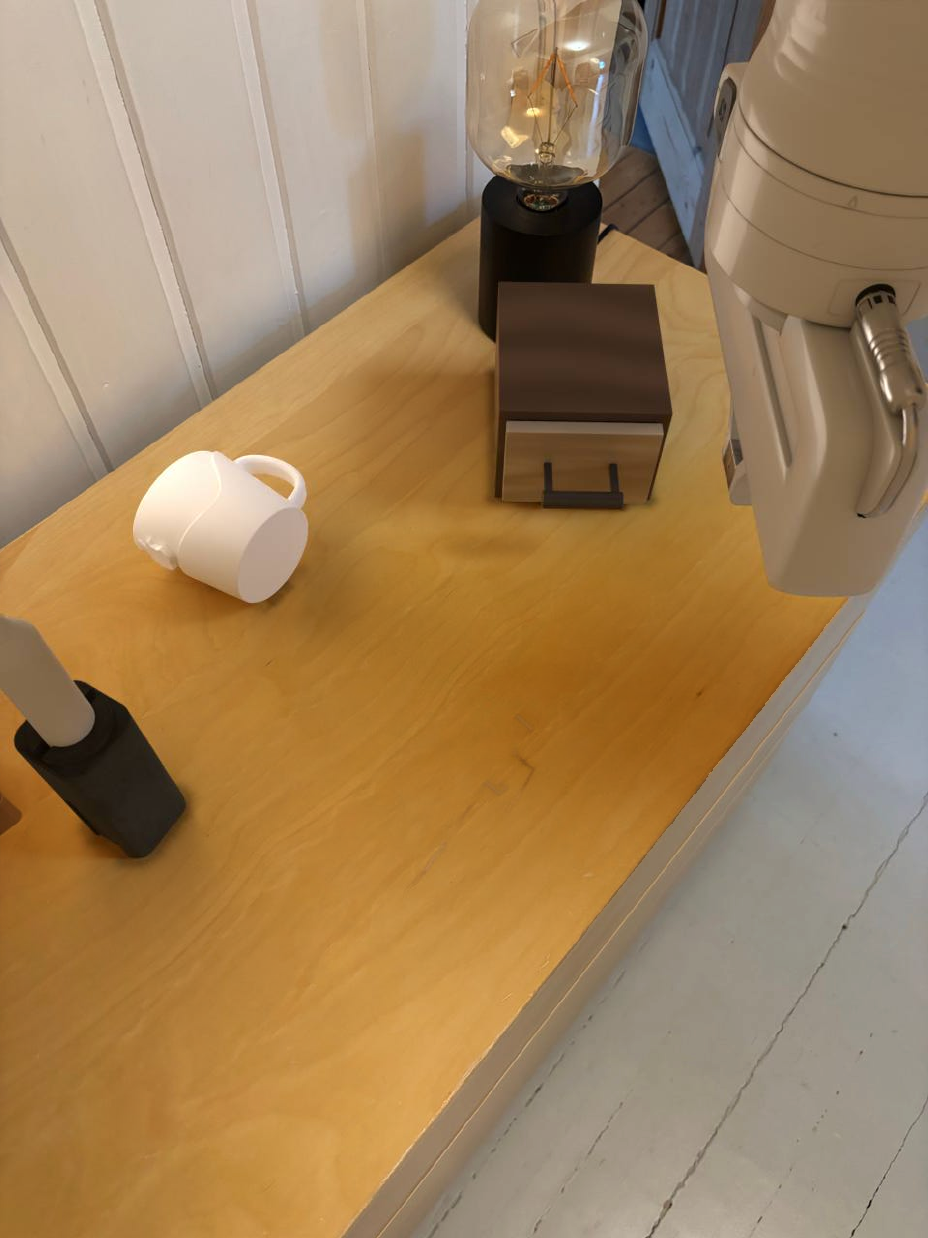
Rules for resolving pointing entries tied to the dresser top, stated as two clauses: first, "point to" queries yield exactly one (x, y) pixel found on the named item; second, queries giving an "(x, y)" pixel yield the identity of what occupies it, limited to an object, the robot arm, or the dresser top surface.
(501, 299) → the cabinet
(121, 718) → the candle
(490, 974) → the dresser top surface
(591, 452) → the drawer
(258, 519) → the mug
